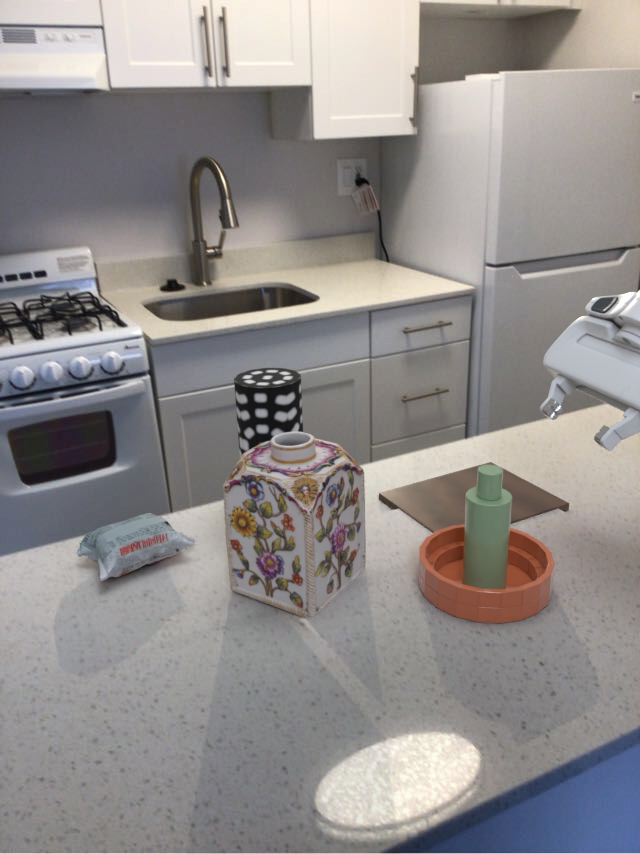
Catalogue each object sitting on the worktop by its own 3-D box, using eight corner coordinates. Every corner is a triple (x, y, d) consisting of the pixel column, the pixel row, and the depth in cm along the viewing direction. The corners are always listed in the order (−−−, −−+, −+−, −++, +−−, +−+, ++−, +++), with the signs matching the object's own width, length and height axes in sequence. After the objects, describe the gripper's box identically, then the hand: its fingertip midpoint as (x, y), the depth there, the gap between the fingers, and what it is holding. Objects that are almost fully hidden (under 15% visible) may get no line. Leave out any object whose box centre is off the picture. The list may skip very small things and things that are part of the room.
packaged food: (196, 560, 92) (192, 524, 90) (102, 595, 86) (96, 557, 84) (165, 533, 99) (161, 499, 97) (76, 564, 92) (70, 528, 91)
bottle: (486, 567, 87) (493, 456, 82) (515, 588, 83) (523, 472, 78) (453, 579, 85) (457, 466, 80) (480, 601, 81) (487, 483, 76)
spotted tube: (253, 504, 106) (243, 367, 98) (311, 507, 104) (306, 368, 97) (237, 533, 98) (225, 387, 91) (300, 537, 97) (293, 388, 89)
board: (490, 467, 115) (490, 461, 114) (569, 509, 101) (569, 503, 101) (378, 499, 106) (378, 492, 106) (448, 549, 93) (448, 542, 92)
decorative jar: (313, 625, 79) (307, 469, 73) (227, 593, 85) (214, 446, 79) (369, 571, 89) (368, 429, 82) (287, 546, 95) (281, 411, 88)
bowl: (491, 544, 93) (493, 512, 92) (579, 603, 82) (583, 567, 80) (393, 577, 87) (394, 543, 86) (473, 646, 75) (475, 608, 74)
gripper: (752, 376, 73) (656, 484, 74) (609, 328, 91) (533, 415, 92) (724, 336, 70) (624, 448, 71) (583, 294, 88) (504, 384, 89)
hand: (572, 429), depth 81 cm, fingers open, 8 cm apart
